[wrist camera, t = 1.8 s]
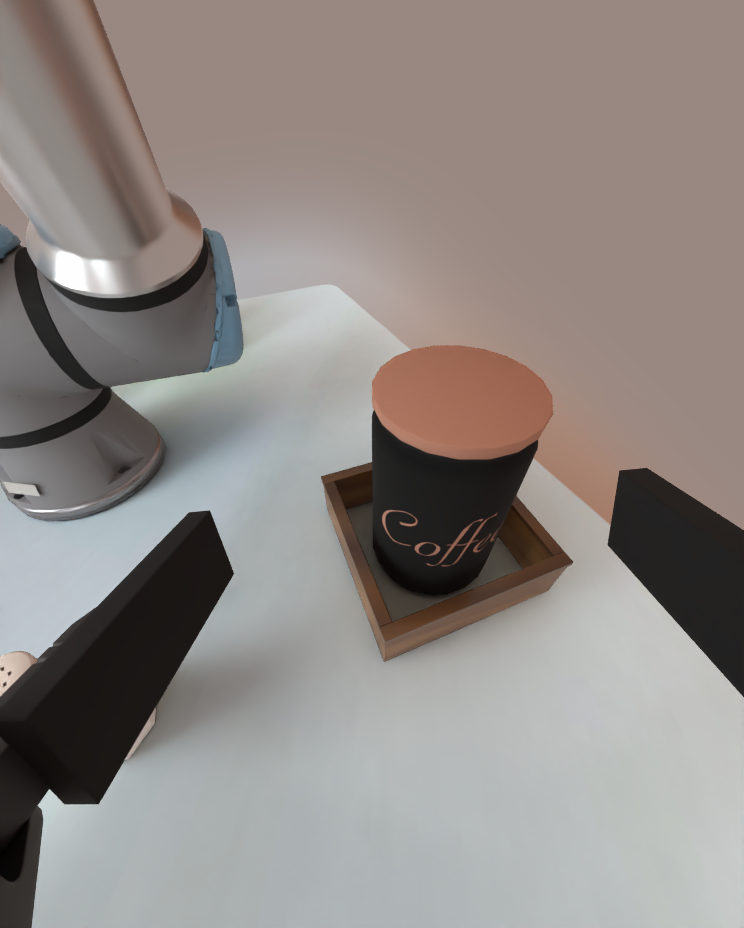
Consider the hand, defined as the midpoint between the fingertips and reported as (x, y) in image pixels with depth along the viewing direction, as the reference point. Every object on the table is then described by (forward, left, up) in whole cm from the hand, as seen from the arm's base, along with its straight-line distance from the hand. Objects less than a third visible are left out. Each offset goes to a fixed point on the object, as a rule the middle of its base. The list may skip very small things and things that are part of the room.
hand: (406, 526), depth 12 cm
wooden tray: (-9, +8, -20) cm, 23 cm away
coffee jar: (-9, +8, -20) cm, 24 cm away
